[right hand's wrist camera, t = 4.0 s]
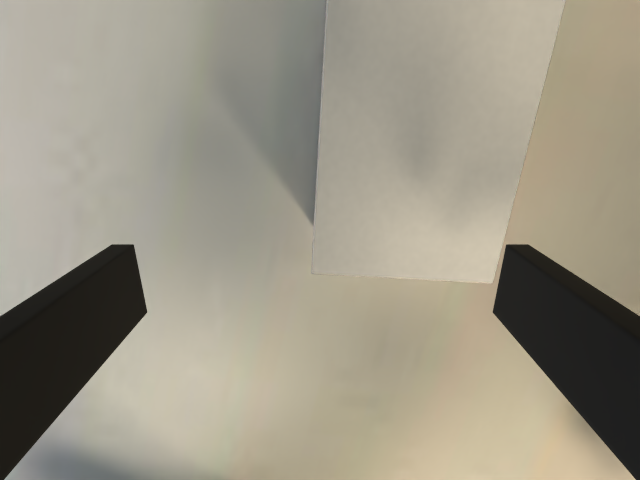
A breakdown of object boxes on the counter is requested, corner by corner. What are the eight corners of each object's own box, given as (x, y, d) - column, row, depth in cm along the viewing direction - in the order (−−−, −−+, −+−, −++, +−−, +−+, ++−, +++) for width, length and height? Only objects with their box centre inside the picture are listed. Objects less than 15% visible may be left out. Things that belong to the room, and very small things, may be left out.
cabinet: (327, -22, 22) (333, -99, 14) (490, -10, 22) (587, -79, 14) (313, 227, 28) (311, 274, 20) (443, 234, 28) (493, 283, 20)
